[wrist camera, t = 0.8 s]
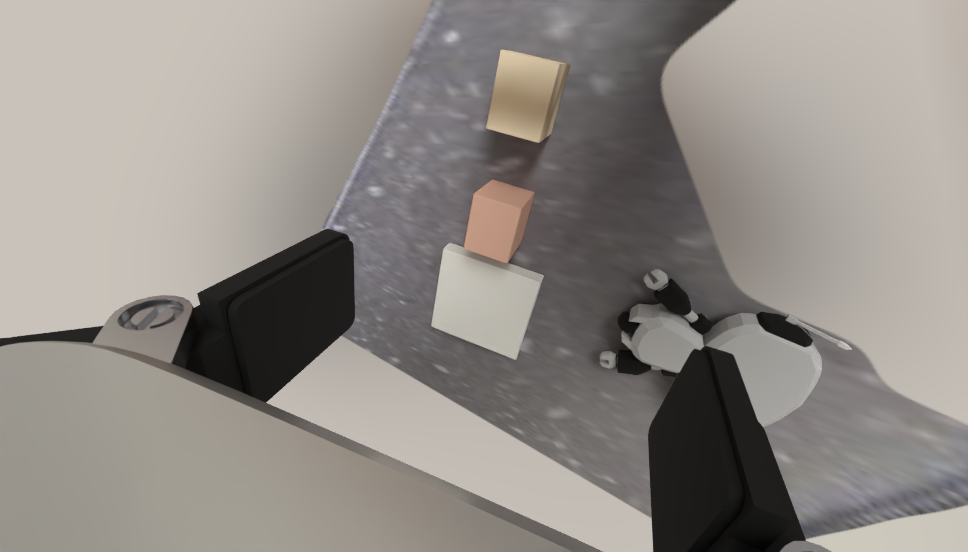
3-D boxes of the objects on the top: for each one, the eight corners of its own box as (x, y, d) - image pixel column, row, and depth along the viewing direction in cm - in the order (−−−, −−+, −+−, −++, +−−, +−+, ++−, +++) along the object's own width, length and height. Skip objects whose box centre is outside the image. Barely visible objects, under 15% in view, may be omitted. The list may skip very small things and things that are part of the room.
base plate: (449, 242, 39) (443, 248, 38) (544, 275, 37) (541, 282, 36) (437, 319, 44) (431, 326, 43) (519, 351, 42) (515, 360, 41)
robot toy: (596, 348, 40) (746, 419, 37) (588, 376, 36) (755, 457, 33) (652, 247, 33) (841, 322, 30) (650, 268, 30) (865, 357, 26)
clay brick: (492, 179, 34) (473, 193, 30) (535, 192, 34) (521, 208, 30) (482, 229, 37) (463, 248, 33) (521, 242, 36) (507, 263, 32)
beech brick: (519, 52, 29) (500, 49, 25) (570, 64, 28) (559, 63, 24) (505, 120, 32) (486, 128, 28) (551, 133, 31) (538, 142, 27)
